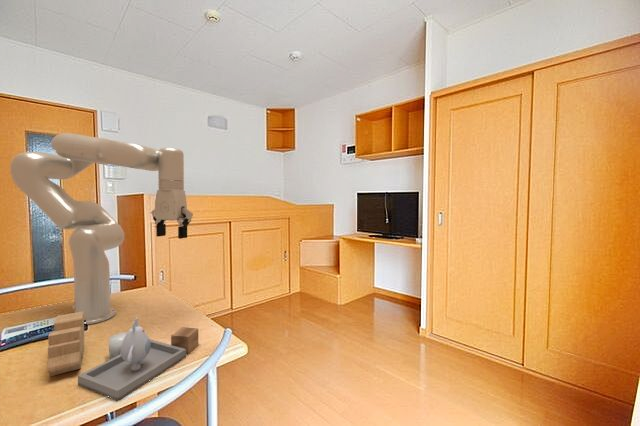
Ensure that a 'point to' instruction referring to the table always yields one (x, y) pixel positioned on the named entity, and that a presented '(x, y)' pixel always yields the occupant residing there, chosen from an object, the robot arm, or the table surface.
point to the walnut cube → (185, 339)
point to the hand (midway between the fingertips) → (171, 237)
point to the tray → (130, 371)
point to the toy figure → (135, 346)
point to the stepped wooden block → (66, 344)
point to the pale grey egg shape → (116, 344)
